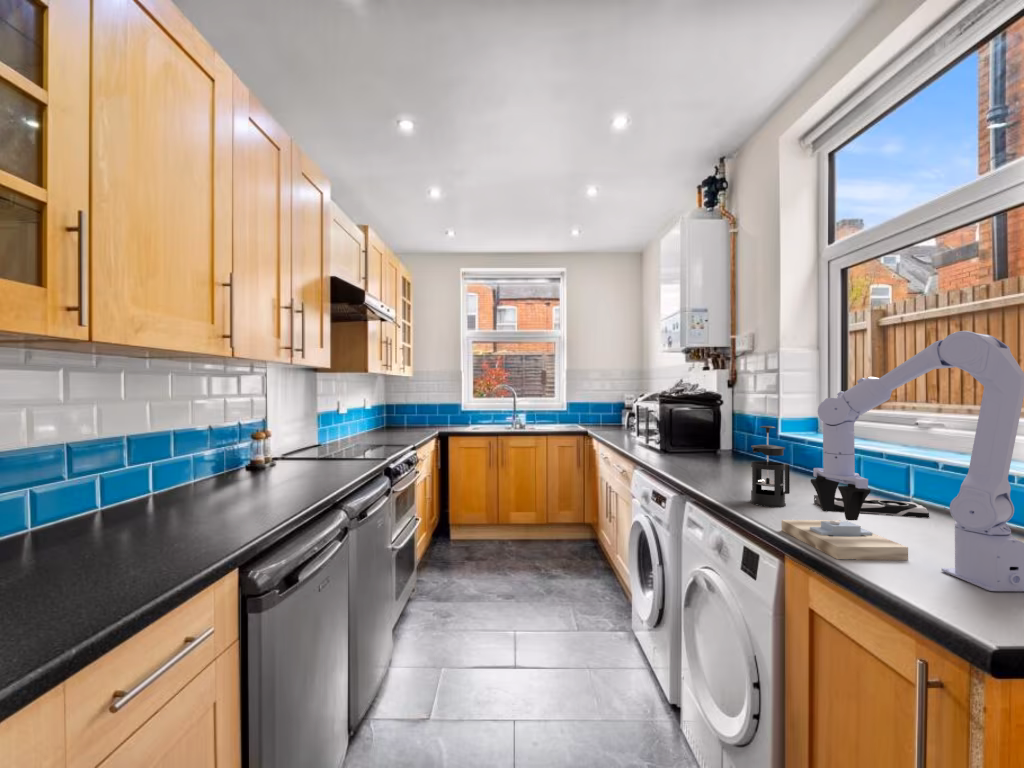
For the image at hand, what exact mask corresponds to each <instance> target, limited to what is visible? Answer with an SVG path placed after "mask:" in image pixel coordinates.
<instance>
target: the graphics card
mask: <svg viewBox="0 0 1024 768" xmlns="http://www.w3.org/2000/svg"><path fill="white" fill-rule="evenodd" d="M814 503H815V505H818V506H819V507H821V505H820V501H819V498H818V495H817V494H813V504H814ZM826 512H829V511H826ZM832 512H840V513H844V503H843V499H842V497H837V496H835V501H834V509H833V511H832ZM859 514H864V515H865V514H866V515H879V514H886V515H885V516H893V515H902V516H901V517H908V516H916V517H915V518H922V517H929V518H930V513H929V511H928V510H927V508H926V507H924V506H923V505H920V504H918V503H915V502H912V501H902V500H900V501H898V500H891V499H889V500H888V499H865V501H864V503H863V505H862V507H861V510H860V513H859Z"/></svg>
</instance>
